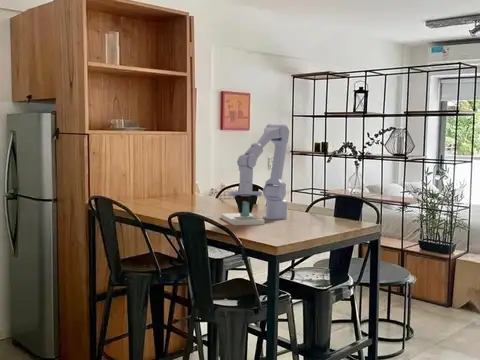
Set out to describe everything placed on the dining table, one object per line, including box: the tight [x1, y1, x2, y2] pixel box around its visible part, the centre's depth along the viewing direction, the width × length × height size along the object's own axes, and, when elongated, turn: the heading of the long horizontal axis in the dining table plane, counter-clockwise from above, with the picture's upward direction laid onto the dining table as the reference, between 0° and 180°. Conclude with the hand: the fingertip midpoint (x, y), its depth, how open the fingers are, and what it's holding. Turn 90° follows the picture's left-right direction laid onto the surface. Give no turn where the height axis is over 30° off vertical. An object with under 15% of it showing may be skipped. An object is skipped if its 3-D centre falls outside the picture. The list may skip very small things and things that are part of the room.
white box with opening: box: [220, 212, 265, 226], centre depth 244 cm, size 14×20×6 cm
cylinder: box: [240, 201, 250, 216], centre depth 240 cm, size 4×4×6 cm
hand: (245, 212), depth 240 cm, fingers closed on cylinder, 4 cm apart
